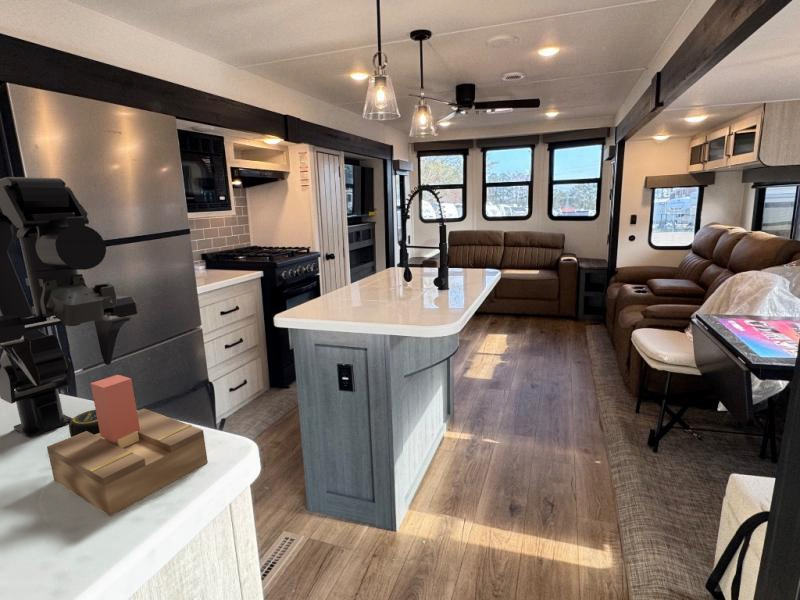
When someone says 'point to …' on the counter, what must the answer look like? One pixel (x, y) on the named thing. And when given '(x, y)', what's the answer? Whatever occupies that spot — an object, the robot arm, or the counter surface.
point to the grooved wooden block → (127, 462)
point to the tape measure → (84, 423)
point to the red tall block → (116, 410)
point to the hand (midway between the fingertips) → (74, 374)
